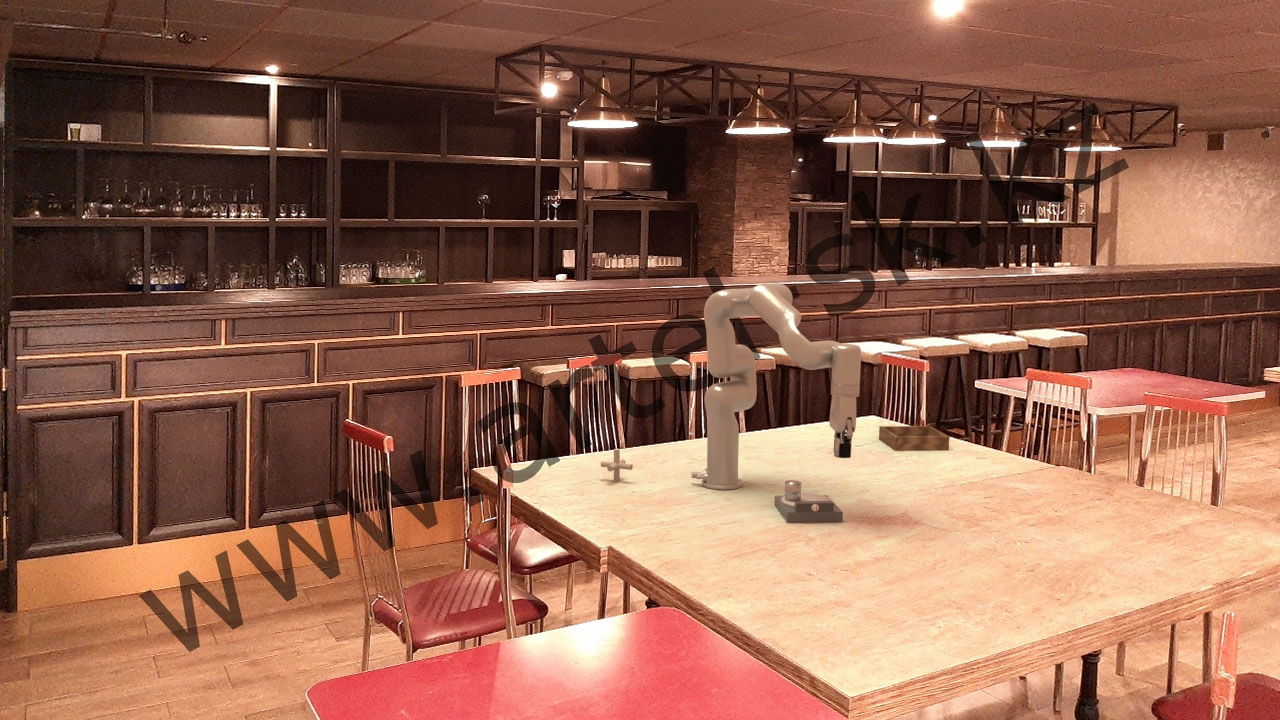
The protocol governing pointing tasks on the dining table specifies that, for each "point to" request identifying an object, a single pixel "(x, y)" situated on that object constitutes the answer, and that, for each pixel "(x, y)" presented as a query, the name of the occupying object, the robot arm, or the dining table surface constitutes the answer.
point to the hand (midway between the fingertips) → (842, 454)
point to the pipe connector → (616, 465)
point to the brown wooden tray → (913, 438)
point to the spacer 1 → (792, 490)
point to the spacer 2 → (837, 446)
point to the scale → (809, 509)
